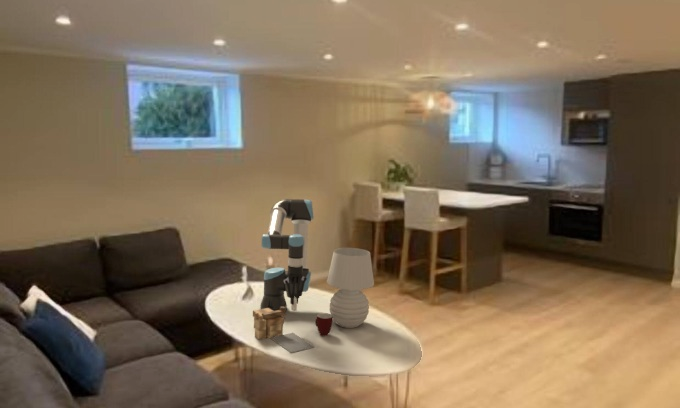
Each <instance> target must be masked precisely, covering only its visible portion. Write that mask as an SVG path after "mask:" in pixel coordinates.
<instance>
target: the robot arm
mask: <svg viewBox="0 0 680 408" xmlns="http://www.w3.org/2000/svg"><path fill="white" fill-rule="evenodd" d="M269 217H270V220H269V224H268V229H267V233H266V234H265V233H263V234H262V235H261V248H262V249H268V250H288V254H287V255H288V256H287V257H288V260H287V261H288V262H287V265H288V266H287V270H286V268H285V267H278V266H277V267H272V268H268V269H266V270H264V275H263V295H262V299H261V302H260V305H259V306H260V308H259V309H265V308H270V309H271V310H273V311H277V310H280V307H282V306H284V307H285V308H286V309H285V311H287V307H288V305H287V301H286V298H285V292H286V297H288V298H289V299H290V301H289V303H290V305H291V306H290V307H291V310H292V311H293V312H297V309H298V305H297V304H298V303H299V299H300V297H302V295H303V293H305V292H308V291H309V288H310V282H311V275H312V272H311V271H310V268H309V267H308V265H307V262H308V261H307V259H308V258H307V257H308V241H309V240H308V239H309V238H308V236H309V235H308V234H309V225H310V224H311V223H312V220H314V208H313V202H312V201H311V200H310V199H300V198H297V199H293V198H284V199H281V200H280V201H278V202H276V203H275V204H273V206H272V207H271V208H270V211H269ZM286 219H291V220H290V221H291V223H292V224H293V228H292V229H293V230H292V231H293V233H292V234H282V233H283V227H284V222H285V220H286Z"/></svg>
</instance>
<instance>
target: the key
mask: <svg viewBox="0 0 680 408" xmlns="http://www.w3.org/2000/svg"><path fill="white" fill-rule="evenodd" d="M285 309H286V308H285V307H284V306H282V307H280V310H277V311H271V312H266V313H262V316H263V319H269V318H274V317H279V316H282V317H284V316H286V310H287V309H286V310H285Z"/></svg>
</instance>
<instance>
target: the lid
mask: <svg viewBox="0 0 680 408" xmlns="http://www.w3.org/2000/svg"><path fill="white" fill-rule="evenodd" d="M271 311H273V310H271V309H270V308H265V309H260V308H259V309H255V310H253V311H252V317H253V318H254V317H255V313H259V316H262V313H266V312H271ZM280 324H283V325H284V324H285V317H284V316H279V317H274V318H269V319H266V326H268V327H270V326H275V325H280Z"/></svg>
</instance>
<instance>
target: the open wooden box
mask: <svg viewBox="0 0 680 408" xmlns="http://www.w3.org/2000/svg"><path fill="white" fill-rule="evenodd" d="M253 328H254V338H256V339H257V340H262V339H266V338H268V339H269V338H271V337H276V336H280V335H284V334H283V333H284V329H283V328H284V324H280V325H275V326H270V327H268V326H266V319H263V316H259V313H255V317H253Z"/></svg>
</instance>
